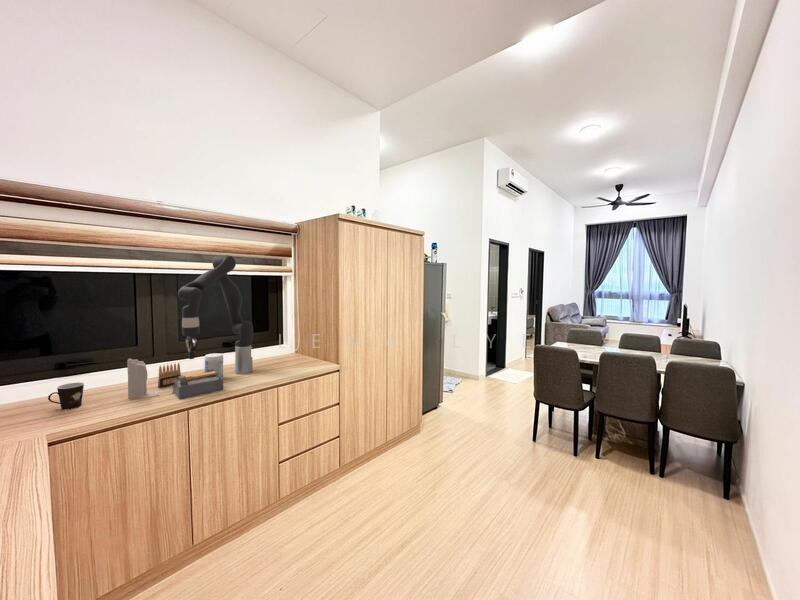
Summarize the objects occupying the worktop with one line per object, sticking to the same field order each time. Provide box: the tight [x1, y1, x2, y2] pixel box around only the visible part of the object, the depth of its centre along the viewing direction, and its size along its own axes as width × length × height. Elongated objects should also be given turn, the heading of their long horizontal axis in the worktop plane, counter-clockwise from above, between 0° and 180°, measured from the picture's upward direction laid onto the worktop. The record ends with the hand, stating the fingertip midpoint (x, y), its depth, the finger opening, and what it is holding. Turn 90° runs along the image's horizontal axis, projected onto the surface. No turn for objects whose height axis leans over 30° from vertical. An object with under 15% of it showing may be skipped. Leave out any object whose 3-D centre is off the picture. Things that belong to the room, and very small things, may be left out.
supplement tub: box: [204, 352, 224, 379], centre depth 192 cm, size 10×10×15 cm
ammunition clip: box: [157, 362, 182, 389], centre depth 180 cm, size 11×2×12 cm, turn 145°
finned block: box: [172, 370, 224, 400], centre depth 173 cm, size 20×14×9 cm
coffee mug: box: [47, 381, 85, 411], centre depth 147 cm, size 12×9×10 cm
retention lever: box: [183, 371, 216, 379], centre depth 173 cm, size 14×4×2 cm, turn 135°
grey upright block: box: [126, 358, 163, 400], centre depth 164 cm, size 7×14×20 cm, turn 120°
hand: (191, 358), depth 170 cm, fingers closed
